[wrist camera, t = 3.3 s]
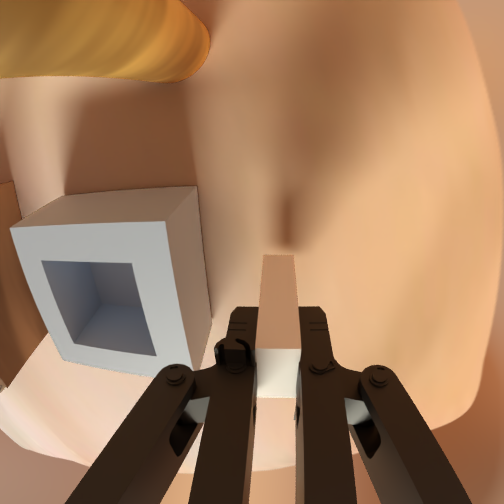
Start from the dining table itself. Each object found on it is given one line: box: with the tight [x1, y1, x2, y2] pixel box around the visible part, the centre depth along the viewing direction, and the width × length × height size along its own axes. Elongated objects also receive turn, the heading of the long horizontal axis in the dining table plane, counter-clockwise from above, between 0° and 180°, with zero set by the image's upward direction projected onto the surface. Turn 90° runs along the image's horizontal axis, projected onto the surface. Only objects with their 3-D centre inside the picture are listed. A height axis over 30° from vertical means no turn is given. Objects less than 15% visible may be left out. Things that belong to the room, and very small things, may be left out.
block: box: [10, 186, 212, 378], centre depth 16 cm, size 9×9×5 cm
